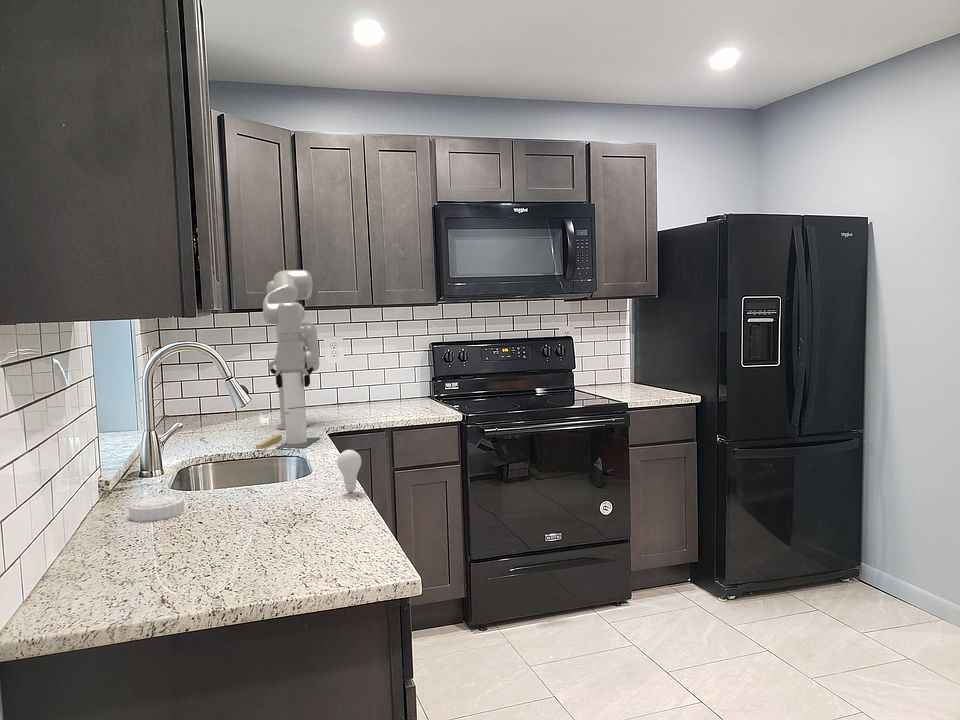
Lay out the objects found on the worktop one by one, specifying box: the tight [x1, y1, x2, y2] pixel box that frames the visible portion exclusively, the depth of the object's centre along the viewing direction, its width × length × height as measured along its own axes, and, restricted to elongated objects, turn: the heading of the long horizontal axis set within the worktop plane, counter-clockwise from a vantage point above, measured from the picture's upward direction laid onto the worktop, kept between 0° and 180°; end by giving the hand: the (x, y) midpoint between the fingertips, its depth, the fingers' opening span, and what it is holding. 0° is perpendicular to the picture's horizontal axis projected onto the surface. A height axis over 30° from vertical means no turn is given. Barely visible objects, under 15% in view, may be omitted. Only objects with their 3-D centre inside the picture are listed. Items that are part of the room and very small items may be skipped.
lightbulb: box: [336, 449, 362, 494], centre depth 185 cm, size 6×6×11 cm
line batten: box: [255, 433, 283, 450], centre depth 258 cm, size 20×2×2 cm, turn 176°
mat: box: [275, 436, 321, 450], centre depth 257 cm, size 18×10×1 cm, turn 176°
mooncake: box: [128, 494, 185, 522], centre depth 173 cm, size 12×12×4 cm
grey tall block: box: [282, 371, 308, 444], centre depth 257 cm, size 7×7×25 cm
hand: (293, 386), depth 256 cm, fingers open, 9 cm apart
